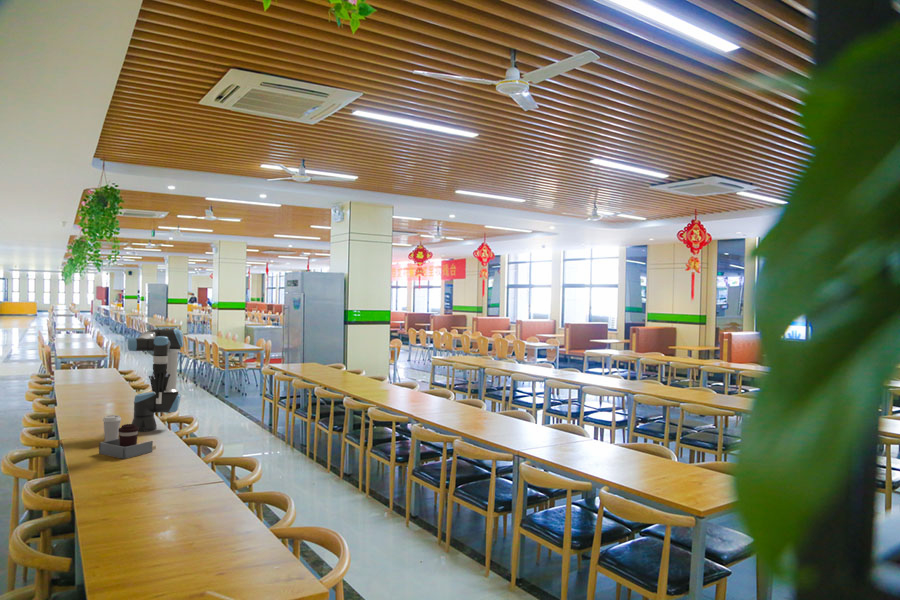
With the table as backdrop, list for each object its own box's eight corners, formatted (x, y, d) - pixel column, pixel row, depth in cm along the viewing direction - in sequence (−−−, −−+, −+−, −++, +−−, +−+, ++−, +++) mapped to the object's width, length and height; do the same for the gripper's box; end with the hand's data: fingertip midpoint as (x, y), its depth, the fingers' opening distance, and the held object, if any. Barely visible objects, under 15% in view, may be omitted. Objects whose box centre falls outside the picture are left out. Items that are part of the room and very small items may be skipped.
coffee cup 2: (142, 450, 322) (143, 423, 322) (129, 455, 312) (130, 427, 312) (126, 449, 324) (127, 422, 324) (113, 453, 314) (114, 426, 314)
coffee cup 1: (114, 444, 333) (115, 418, 333) (98, 443, 333) (99, 417, 333) (124, 440, 342) (125, 415, 342) (108, 439, 342) (109, 414, 342)
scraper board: (141, 447, 331) (141, 442, 331) (155, 450, 326) (155, 445, 326) (128, 450, 324) (128, 445, 324) (142, 453, 319) (142, 448, 319)
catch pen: (127, 446, 329) (128, 436, 329) (152, 451, 320) (152, 441, 320) (99, 453, 313) (99, 442, 313) (123, 459, 305) (124, 447, 305)
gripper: (165, 361, 342) (163, 401, 342) (145, 363, 330) (144, 404, 330) (174, 362, 339) (172, 402, 339) (154, 364, 327) (153, 406, 327)
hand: (158, 403), depth 335 cm, fingers closed
